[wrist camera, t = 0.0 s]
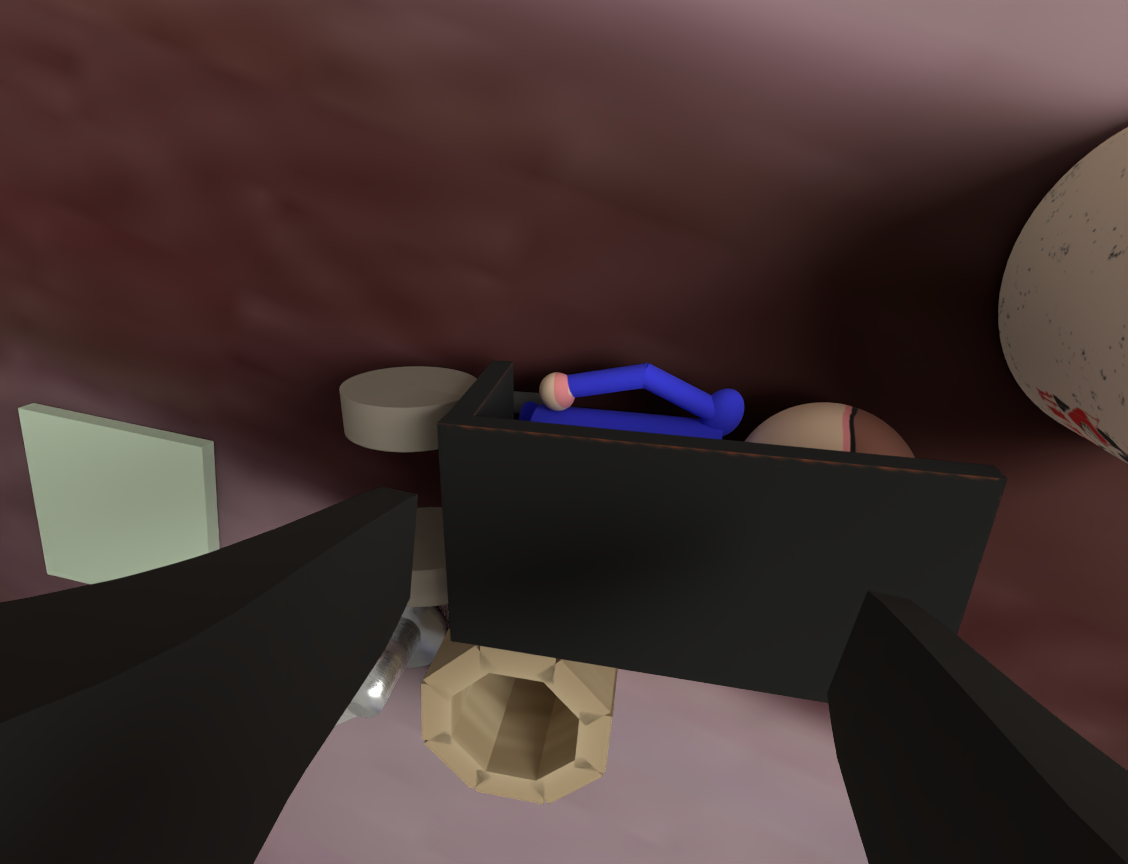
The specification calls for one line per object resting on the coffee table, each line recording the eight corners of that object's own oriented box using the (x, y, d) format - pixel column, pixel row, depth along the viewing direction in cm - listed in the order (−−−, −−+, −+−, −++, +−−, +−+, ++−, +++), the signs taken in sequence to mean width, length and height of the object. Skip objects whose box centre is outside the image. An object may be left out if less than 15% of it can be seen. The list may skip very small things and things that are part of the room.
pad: (222, 604, 25) (212, 613, 24) (60, 565, 26) (47, 574, 25) (213, 441, 22) (201, 447, 22) (33, 403, 23) (17, 408, 23)
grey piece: (434, 763, 26) (398, 851, 23) (97, 679, 28) (14, 749, 24) (451, 600, 23) (413, 673, 20) (72, 514, 25) (-28, 567, 21)
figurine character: (441, 508, 24) (880, 568, 20) (316, 635, 17) (947, 761, 13) (429, 329, 21) (923, 359, 18) (278, 392, 15) (1031, 464, 11)
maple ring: (613, 693, 24) (599, 814, 19) (469, 668, 24) (422, 780, 20) (629, 566, 22) (618, 667, 17) (472, 543, 22) (420, 635, 18)
